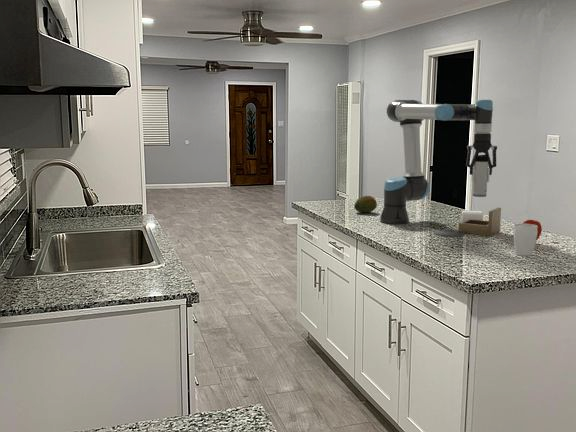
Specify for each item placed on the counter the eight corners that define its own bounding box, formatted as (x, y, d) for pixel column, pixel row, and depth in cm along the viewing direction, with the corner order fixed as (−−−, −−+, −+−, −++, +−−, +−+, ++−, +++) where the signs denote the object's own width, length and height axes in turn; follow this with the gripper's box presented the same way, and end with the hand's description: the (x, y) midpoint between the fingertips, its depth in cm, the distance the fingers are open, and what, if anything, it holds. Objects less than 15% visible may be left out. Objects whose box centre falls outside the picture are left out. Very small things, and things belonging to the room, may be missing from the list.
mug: (482, 228, 293) (483, 212, 291) (462, 227, 294) (462, 211, 293) (479, 223, 304) (480, 208, 303) (459, 223, 306) (460, 208, 305)
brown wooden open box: (458, 233, 279) (459, 208, 277) (468, 228, 290) (469, 205, 288) (490, 237, 270) (492, 211, 268) (499, 232, 281) (501, 207, 279)
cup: (508, 252, 240) (509, 223, 238) (529, 251, 241) (531, 223, 239) (518, 257, 231) (520, 227, 229) (540, 256, 232) (542, 227, 230)
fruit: (379, 213, 338) (380, 196, 337) (363, 215, 331) (364, 198, 330) (366, 210, 348) (366, 194, 346) (350, 212, 341) (350, 195, 339)
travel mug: (489, 196, 275) (491, 154, 272) (476, 197, 274) (478, 154, 271) (482, 195, 281) (485, 153, 278) (470, 195, 280) (472, 154, 277)
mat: (429, 234, 276) (429, 233, 276) (440, 230, 287) (440, 229, 287) (458, 238, 268) (458, 237, 268) (468, 233, 279) (468, 232, 279)
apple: (517, 241, 260) (518, 217, 259) (536, 241, 260) (537, 217, 258) (524, 245, 252) (525, 221, 250) (544, 245, 252) (545, 221, 250)
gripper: (463, 133, 270) (460, 182, 274) (505, 133, 267) (502, 182, 271) (460, 132, 277) (458, 180, 281) (502, 132, 275) (499, 181, 279)
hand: (480, 181), depth 276 cm, fingers closed on travel mug, 6 cm apart
